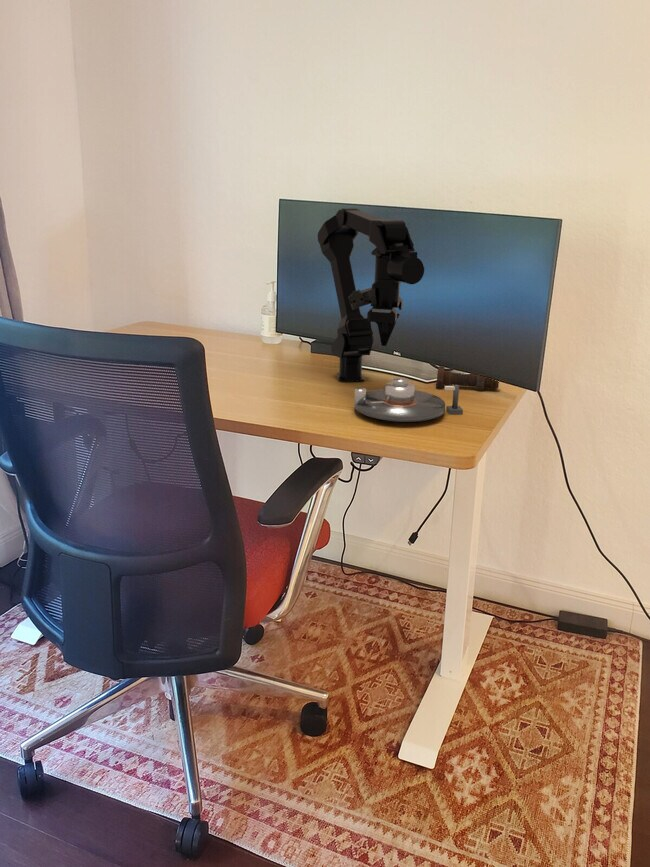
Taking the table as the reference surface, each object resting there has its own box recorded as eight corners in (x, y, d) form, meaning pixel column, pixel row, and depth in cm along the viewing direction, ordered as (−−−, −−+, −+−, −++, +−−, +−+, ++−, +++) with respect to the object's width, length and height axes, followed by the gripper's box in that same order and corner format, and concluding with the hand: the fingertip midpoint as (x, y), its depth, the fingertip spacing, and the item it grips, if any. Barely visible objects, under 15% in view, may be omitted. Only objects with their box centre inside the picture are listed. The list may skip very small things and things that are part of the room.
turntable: (428, 391, 177) (429, 373, 176) (458, 419, 159) (459, 399, 158) (344, 395, 174) (345, 376, 172) (365, 423, 155) (366, 403, 154)
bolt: (496, 399, 184) (435, 392, 187) (497, 384, 188) (437, 378, 190) (500, 382, 180) (437, 376, 182) (500, 367, 183) (438, 361, 185)
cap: (378, 400, 166) (379, 378, 164) (398, 395, 170) (399, 373, 168) (400, 407, 162) (401, 385, 160) (420, 401, 166) (421, 379, 164)
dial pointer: (441, 410, 169) (443, 383, 167) (459, 410, 169) (461, 383, 167) (444, 414, 166) (446, 387, 164) (462, 414, 167) (465, 387, 164)
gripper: (357, 270, 179) (355, 334, 185) (345, 282, 162) (343, 352, 167) (404, 272, 177) (400, 337, 183) (397, 284, 160) (393, 356, 166)
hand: (384, 345), depth 175 cm, fingers closed
